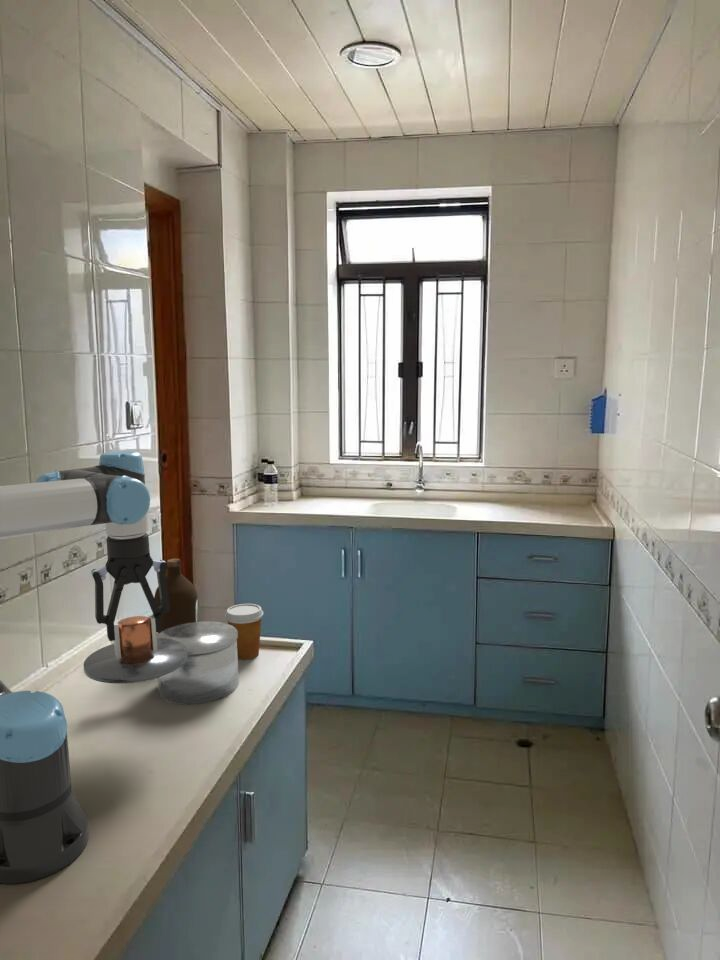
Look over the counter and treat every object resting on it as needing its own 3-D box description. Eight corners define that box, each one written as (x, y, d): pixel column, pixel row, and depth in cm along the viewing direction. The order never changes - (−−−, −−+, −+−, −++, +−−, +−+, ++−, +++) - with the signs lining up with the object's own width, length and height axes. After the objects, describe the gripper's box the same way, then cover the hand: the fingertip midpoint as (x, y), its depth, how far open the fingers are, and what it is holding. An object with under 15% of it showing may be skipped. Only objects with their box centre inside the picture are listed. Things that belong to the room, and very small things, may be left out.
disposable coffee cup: (257, 663, 175) (255, 616, 173) (221, 660, 177) (218, 614, 175) (270, 648, 184) (268, 603, 182) (235, 646, 186) (233, 602, 184)
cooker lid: (89, 692, 124) (85, 648, 122) (79, 653, 140) (76, 615, 139) (198, 669, 132) (195, 628, 130) (176, 636, 149) (173, 599, 147)
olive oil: (164, 667, 174) (157, 568, 170) (153, 652, 183) (146, 558, 179) (206, 657, 179) (201, 561, 175) (193, 643, 188) (187, 552, 184)
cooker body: (119, 723, 147) (114, 668, 145) (107, 687, 163) (103, 638, 161) (250, 692, 159) (248, 642, 157) (227, 662, 176) (224, 616, 174)
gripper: (174, 524, 139) (181, 636, 143) (70, 536, 131) (81, 655, 135) (182, 532, 133) (190, 649, 137) (74, 545, 125) (85, 669, 128)
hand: (136, 651), depth 136 cm, fingers closed on cooker lid, 6 cm apart
